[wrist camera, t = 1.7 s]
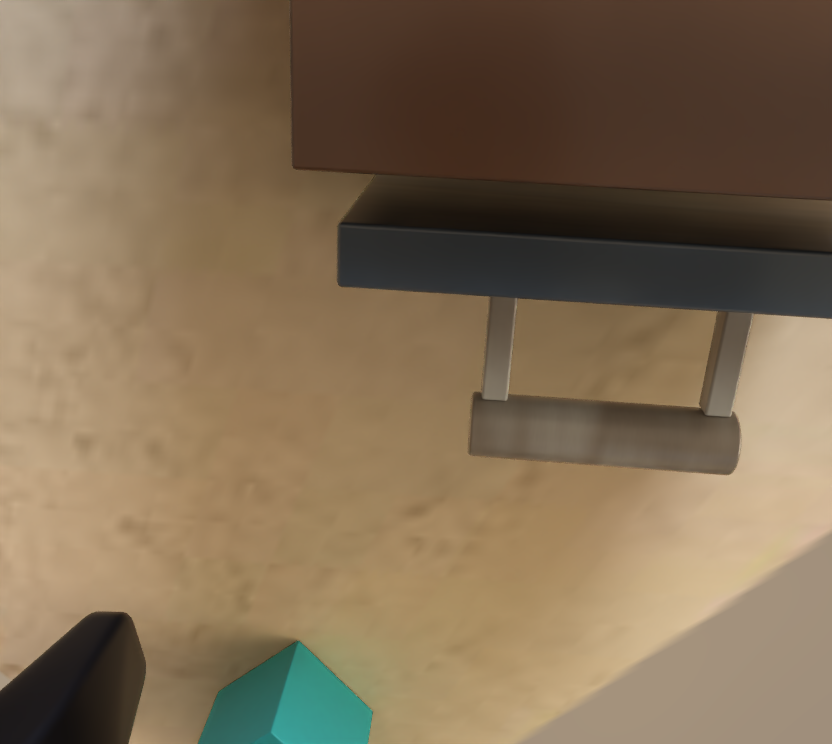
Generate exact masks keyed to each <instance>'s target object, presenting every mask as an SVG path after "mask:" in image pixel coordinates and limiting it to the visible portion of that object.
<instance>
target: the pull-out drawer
mask: <svg viewBox="0 0 832 744" xmlns="http://www.w3.org/2000/svg"><path fill="white" fill-rule="evenodd" d="M337 283H338V285H339V286H341V287H352V288H367V289H383V290H398V291H413V292H429V293H444V294H459V295H474V296H489V304H488V315H487V327H486V339H485V351H484V362H483V374H482V386H481V392H474V393H473V394H472V398H471V409H470V422H469V438H468V454H469V455H470V456H478V457H491V458H504V459H517V460H531V461H544V462H557V463H571V464H584V465H597V466H611V467H624V468H637V469H651V470H664V471H677V472H690V473H704V474H717V475H729V474H731V473H733V471H734V470H735V468H736V466H737V463H738V460H739V456H740V450H741V429H740V423H739V420H738V417H737V415H736V414H735V413H734V412H733V406H734V401H735V397H736V392H737V388H738V383H739V379H740V374H741V370H742V365H743V361H744V356H745V352H746V347H747V343H748V338H749V334H750V329H751V325H752V320H753V316H754V314H765V315H781V316H796V317H811V318H827V319H832V201H825V200H808V199H791V198H773V197H756V196H739V195H722V194H705V193H688V192H670V191H653V190H636V189H619V188H602V187H585V186H567V185H550V184H533V183H516V182H499V181H482V180H465V179H447V178H430V177H413V176H396V175H379V174H376V175H375V176H374V178H373V179H372V180H371V182H370V183H369V184H368V186H367V187H366V188H365V189H364V191H363V192H362V193H361V195H360V196H359V197H358V199H357V200H356V201H355V203H354V204H353V205H352V206H351V208H350V209H349V210H348V212H347V213H346V214H345V216H344V217H343V218H342V219H341V221H340V222H339V224H338V226H337ZM518 298H520V299H536V300H551V301H566V302H582V303H597V304H612V305H628V306H643V307H658V308H673V309H689V310H704V311H718V313H717V318H716V323H715V328H714V333H713V338H712V343H711V348H710V353H709V358H708V363H707V367H706V372H705V377H704V382H703V387H702V392H701V397H700V402H699V405H700V407H701V408H694V407H680V406H666V405H652V404H638V403H624V402H610V401H596V400H582V399H568V398H554V397H540V396H526V395H512V394H508V391H509V381H510V371H511V361H512V351H513V341H514V331H515V321H516V311H517V301H518Z"/></svg>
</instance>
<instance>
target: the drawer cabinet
mask: <svg viewBox="0 0 832 744" xmlns="http://www.w3.org/2000/svg"><path fill="white" fill-rule="evenodd" d="M289 4H290V75H291V146H292V167H293V168H294V169H296V170H310V171H327V172H344V173H362V174H379V175H396V176H413V177H430V178H447V179H465V180H482V181H499V182H516V183H533V184H550V185H567V186H585V187H602V188H619V189H636V190H653V191H670V192H688V193H705V194H722V195H739V196H756V197H773V198H791V199H808V200H825V201H832V0H289Z"/></svg>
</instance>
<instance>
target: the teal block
mask: <svg viewBox="0 0 832 744" xmlns="http://www.w3.org/2000/svg"><path fill="white" fill-rule="evenodd" d="M372 714H373V711H372V710H371V709H370V708H369V707H368V706H367V705H366V704H365V703H363V702H362V701H361V700H360V699H359V698H358V697H357V696H356V695H355V694H354V693H353V692H352V691H351V690H350V689H349V688H348V687H347V686H346V685H345V684H344V683H343V682H342V681H340V680H339V679H338V678H337V677H336V676H335V675H334V674H333V673H332V672H331V671H330V670H329V669H328V668H327V667H326V666H325V665H324V664H323V663H322V662H321V661H320V660H319V659H318V658H316V657H315V656H314V655H313V654H312V653H311V652H310V651H309V650H308V649H307V648H306V647H305V646H304V645H303V644H302V643H301V642H300V641H296V642H295V643H293V644H292V645H290V646H289V647H287V648H285V649H284V650H282V651H281V652H279V653H278V654H276V655H275V656H273V657H271V658H270V659H268V660H267V661H265V662H264V663H262V664H261V665H259V666H258V667H256V668H254V669H253V670H251V671H250V672H248V673H247V674H245V675H244V676H242V677H240V678H239V679H237V680H236V681H234V682H233V683H231V684H230V685H228V686H226V687H225V688H223V689H222V690H220V691H219V692H218V694H217V697H216V699H215V702H214V704H213V707H212V709H211V712H210V714H209V717H208V719H207V722H206V724H205V727H204V729H203V732H202V734H201V737H200V739H199V742H198V744H368V739H369V733H370V726H371V720H372Z"/></svg>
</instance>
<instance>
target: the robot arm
mask: <svg viewBox="0 0 832 744" xmlns="http://www.w3.org/2000/svg"><path fill="white" fill-rule="evenodd" d="M145 673H146V662H145V657H144V654H143V651H142V648H141V644H140V641H139V638H138V635H137V632H136V629H135V626H134V623H133V620H132V618H131V617H130V616H129V615H128V614H127V613H124V612H94V613H91V614H89V615H88V616H86V617H85V618H84V619H82V620H81V621H80V622H79V623H78V624H77V625H76V626H74V627H73V628H72V629H71V630H70V631H69V632H67V633H66V634H65V635H64V636H63V637H62V638H61V639H59V640H58V641H57V642H56V643H55V644H54V645H52V646H51V647H50V648H49V649H48V650H47V651H46V652H44V653H43V654H42V655H41V656H40V657H39V658H37V659H36V660H35V661H34V662H33V663H32V664H31V665H29V666H28V667H27V668H26V669H25V670H24V671H22V672H21V673H20V674H19V675H18V676H17V677H16V678H14V679H13V680H12V681H11V682H10V683H9V684H8V685H6V686H5V687H4V688H3V689H2V690H1V691H0V744H128V743H129V739H130V735H131V731H132V727H133V723H134V719H135V715H136V712H137V708H138V704H139V700H140V696H141V692H142V688H143V684H144V680H145Z"/></svg>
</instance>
